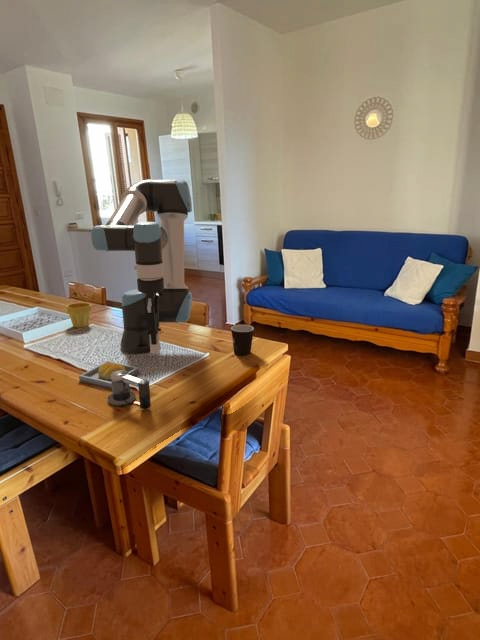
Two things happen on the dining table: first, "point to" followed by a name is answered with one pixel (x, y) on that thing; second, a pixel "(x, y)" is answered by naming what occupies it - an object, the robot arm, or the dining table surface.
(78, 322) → the plant pot
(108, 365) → the bread roll
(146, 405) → the crank
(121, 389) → the crank hub
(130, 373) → the tray
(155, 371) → the dining table surface
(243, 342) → the coffee mug
